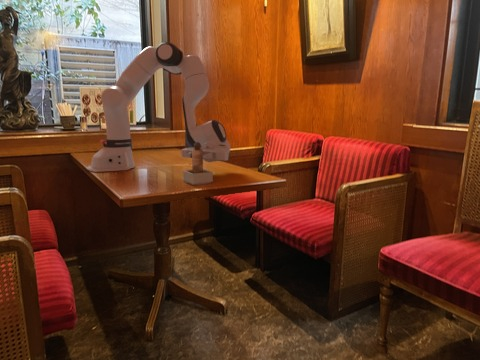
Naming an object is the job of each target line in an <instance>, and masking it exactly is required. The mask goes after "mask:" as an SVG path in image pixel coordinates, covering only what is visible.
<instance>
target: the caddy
mask: <svg viewBox="0 0 480 360" xmlns="http://www.w3.org/2000/svg"><path fill="white" fill-rule="evenodd" d="M213 175H214V174H213V171H210V170H208V169H204V168H203V173H196V174H194V173H192V169H187V170H182V182H184V183H187V184H189V185H191V186H197V185H198V186H199V185H207V184H213V181H214V179H213Z"/></svg>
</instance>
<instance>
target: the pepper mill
mask: <svg viewBox="0 0 480 360" xmlns="http://www.w3.org/2000/svg"><path fill="white" fill-rule="evenodd" d="M200 147H201V144H200V143H199V142H196V143H195V144H194V149H192V158H191V161H192V166H191V170H192V173H194V174H196V173H203V169H204V160H203V149H200Z"/></svg>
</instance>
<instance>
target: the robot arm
mask: <svg viewBox="0 0 480 360" xmlns="http://www.w3.org/2000/svg"><path fill="white" fill-rule="evenodd" d="M160 69H163V71H165V72H167V73H169V74H172V75H174V76H175V75H176V76H179V75H182V78H183V81H184V94H183V96H182V101H181V102H182V111H183V118H184V129H185V128H186V135H185V134H184V135H185V136H184V138H185V137H186V142H187V144H188V145H189V146H190V147H192V148H185V147H184V148H182V149H181V153H180V154H181V157H182V158H186V159H187V158H188V159H192V149H194V144H195V143H196V142H199V143H200V144H201V147H200V149H203V161H204V162H207V163H213V162H215V163H216V162H217V161H218V162H225V161H229V156H230V155H229V154H230V152H231V144H230V142H229V140H227V132H226V129H225V126H224V125H223V123H221V122H219V121H218V120H216V119H212V120H208V121H206V122H204V123H202V124H200V125H197V127H196V123H197V122H196V121H197V120H196V114H195V110H196V106H198V104H199V103H200V101H201V100H203V99H204V98H205V97H206V96H207V94H208V91H209V90H210V81H209V77H208V73H207V71H206V69H205V66H204V64H203V61H202V60H201V57H200V56H198V55H196V54H189V55H184V53H183V51H182V50H181V49H180V48H179V47H178V46H177V45H175V44H173V43H172V42H168V41H165V42H161V43H160V44H158V46H157V47H155V46H151V45H150V46H147V47H145V48H143V50H142V51H140V52H139V53H138V54H137V55H136V56H135V57H134V58H133V60H132V61H130V63H129V64H128V65H127V66H126V68H125V69H124V70H123V71H122V73H121V75H120V76H119V78H118V79H117V81H116V82H115V84H113V86H108V87H106V88H104V90H103V91H102V93H101V96H100V100H101V103H102V110H103V115H104V120H105V129H106V139H101V140H100V141H99V144H101V145H102V148H101V149H99V150H98V151H97V152H96V153H95V154H93V155H92V158H91V164H89V165H88V166H87V167H86V169H87V171H89V172H94V173H99V172H114V171H128V170H130V169H133V168H136V165H135V160H134V156H133V152H132V149H133V141H132V138H131V121H130V118H129V112H128V107H129V105H130V104H131V103H132V102H133V100H134V99H135V98H136V96H137V95H138V94H139V93H140V92H141V89H143V87H144V86H145V85H146V84H147V83H148V82H149V80H150V79H151V78H152V77H153V75H155V73H156V72H157V71H158V70H160Z"/></svg>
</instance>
